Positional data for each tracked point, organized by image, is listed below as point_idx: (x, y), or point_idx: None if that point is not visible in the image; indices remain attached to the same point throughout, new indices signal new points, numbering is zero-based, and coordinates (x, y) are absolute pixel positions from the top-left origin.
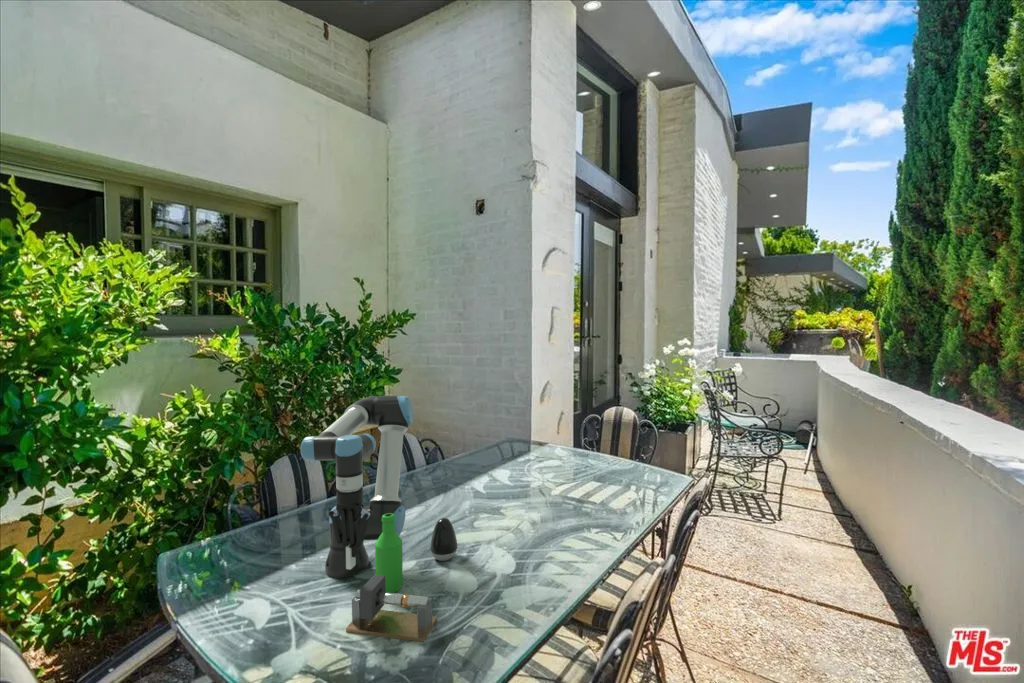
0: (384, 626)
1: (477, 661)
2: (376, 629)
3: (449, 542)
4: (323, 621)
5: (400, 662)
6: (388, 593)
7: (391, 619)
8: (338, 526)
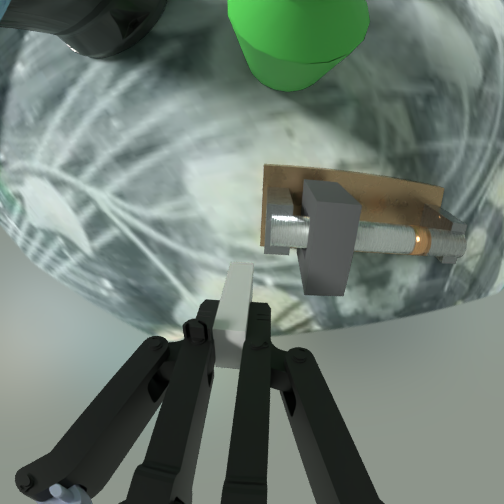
0: None
1: (484, 279)
2: None
3: None
4: (187, 217)
5: (393, 300)
6: (376, 243)
7: None
8: (126, 444)
